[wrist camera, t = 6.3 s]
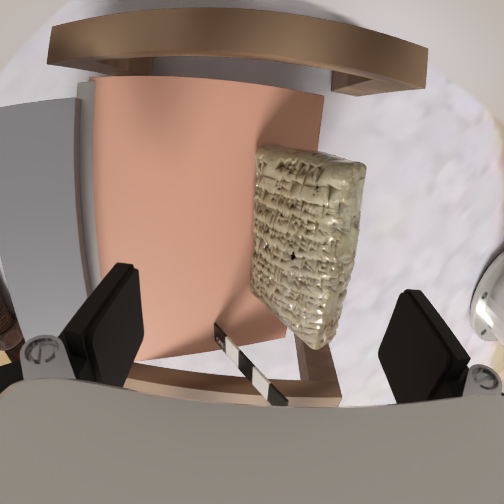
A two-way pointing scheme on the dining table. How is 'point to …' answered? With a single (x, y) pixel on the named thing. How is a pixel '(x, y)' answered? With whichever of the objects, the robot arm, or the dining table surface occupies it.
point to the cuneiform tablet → (301, 247)
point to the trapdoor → (144, 202)
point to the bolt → (10, 334)
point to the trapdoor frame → (250, 47)
